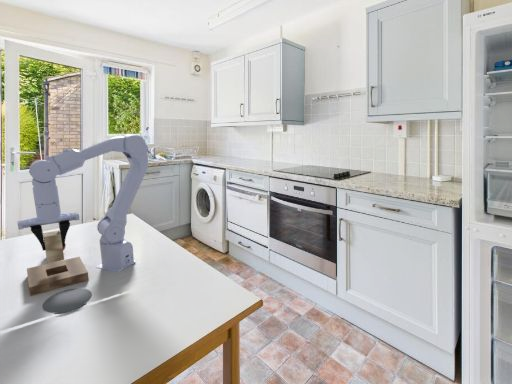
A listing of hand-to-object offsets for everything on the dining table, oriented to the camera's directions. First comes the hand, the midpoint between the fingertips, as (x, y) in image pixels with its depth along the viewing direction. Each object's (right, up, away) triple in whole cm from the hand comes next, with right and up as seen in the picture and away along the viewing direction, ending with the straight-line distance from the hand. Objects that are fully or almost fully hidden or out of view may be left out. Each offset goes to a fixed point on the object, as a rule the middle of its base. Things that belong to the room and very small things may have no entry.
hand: (53, 247), depth 87 cm
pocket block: (0, -10, +2) cm, 10 cm away
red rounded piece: (-12, -7, +19) cm, 23 cm away
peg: (0, -4, +1) cm, 4 cm away
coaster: (+10, -13, -9) cm, 18 cm away
